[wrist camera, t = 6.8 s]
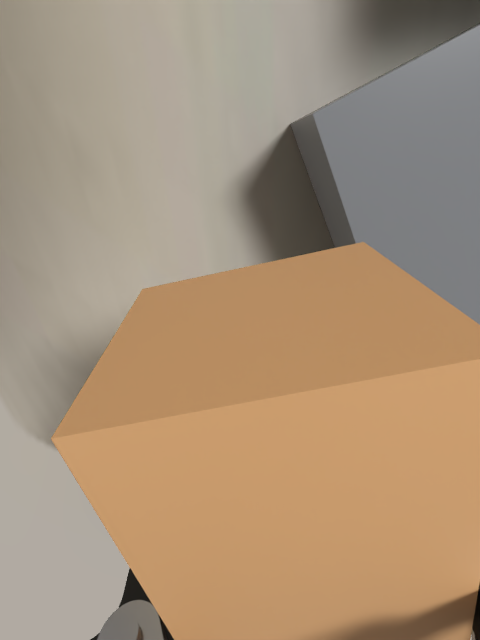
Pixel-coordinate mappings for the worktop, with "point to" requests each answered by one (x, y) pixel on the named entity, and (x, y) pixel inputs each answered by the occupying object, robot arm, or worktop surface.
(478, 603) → the robot arm
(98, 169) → the worktop surface
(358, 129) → the stand
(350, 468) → the block
